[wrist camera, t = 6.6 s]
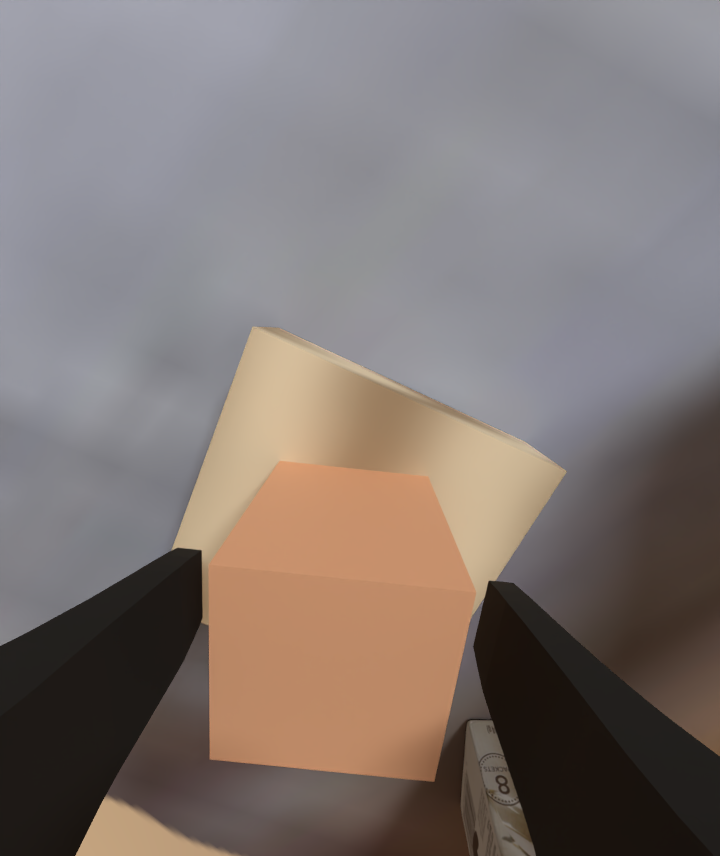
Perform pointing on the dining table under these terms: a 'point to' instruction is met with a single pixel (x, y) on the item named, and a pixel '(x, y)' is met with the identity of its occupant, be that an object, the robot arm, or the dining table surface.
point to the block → (337, 625)
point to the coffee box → (491, 797)
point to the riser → (362, 451)
